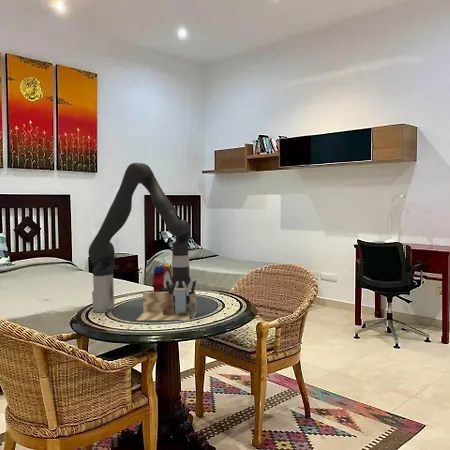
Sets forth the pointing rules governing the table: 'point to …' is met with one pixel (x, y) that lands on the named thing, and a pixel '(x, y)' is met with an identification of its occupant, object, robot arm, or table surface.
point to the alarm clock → (161, 276)
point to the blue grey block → (180, 300)
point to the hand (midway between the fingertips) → (181, 303)
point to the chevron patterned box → (165, 307)
